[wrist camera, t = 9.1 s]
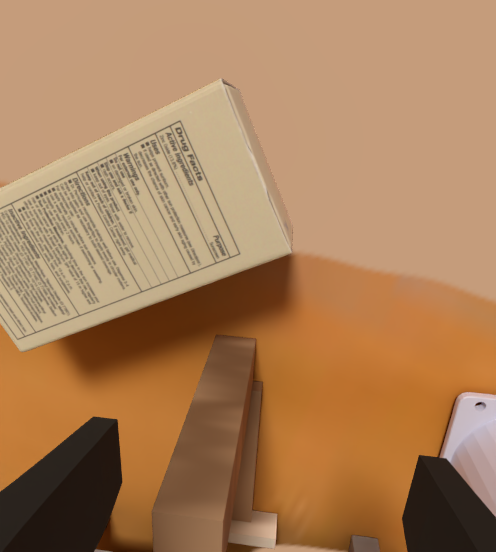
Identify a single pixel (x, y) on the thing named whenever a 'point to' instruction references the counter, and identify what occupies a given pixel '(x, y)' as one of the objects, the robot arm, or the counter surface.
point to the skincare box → (138, 218)
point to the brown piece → (216, 461)
